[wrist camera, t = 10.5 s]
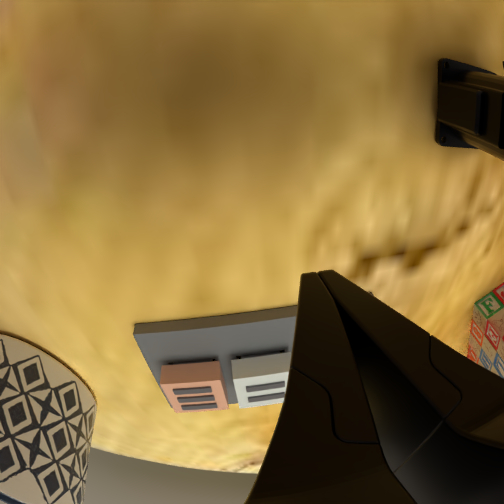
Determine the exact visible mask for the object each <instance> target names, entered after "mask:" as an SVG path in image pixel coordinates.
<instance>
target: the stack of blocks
mask: <svg viewBox="0 0 504 504" xmlns="http://www.w3.org/2000/svg"><path fill="white" fill-rule="evenodd" d="M467 358H469V359H470V360H472V361H474V362H475V363H477V364H479V365H481V366H482V367H484V368H486V369H488V370H490V371H491V372H493V373H495V374H497V375H498V376H500V377H502V378H504V283H502V284H501V285H500V286H498V287H497V288H495V289H494V290H493V291H492V292H490V293H489V294H487V295H486V296H485V297H483V298H482V299H480V300H479V301H477V302H476V303H474V310H473V318H472V323H471V331H470V338H469V349H468V357H467Z"/></svg>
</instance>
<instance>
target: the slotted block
mask: <svg viewBox="0 0 504 504" xmlns="http://www.w3.org/2000/svg"><path fill="white" fill-rule="evenodd" d="M160 386H161V388H162V389H163V391H164V393H165V395H166V397H167V398H168V400H169V402H170V404H171V405H172V407H173V409H174V411H175V412H176V413H181V412H199V411H212V410H224V409H229V406H228V393H227V388H226V385H225V381H224V377H223V373H222V370H221V366H220V362H219V361H212V359H208V360H198V361H186V362H173V365H162V367H161V377H160Z"/></svg>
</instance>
